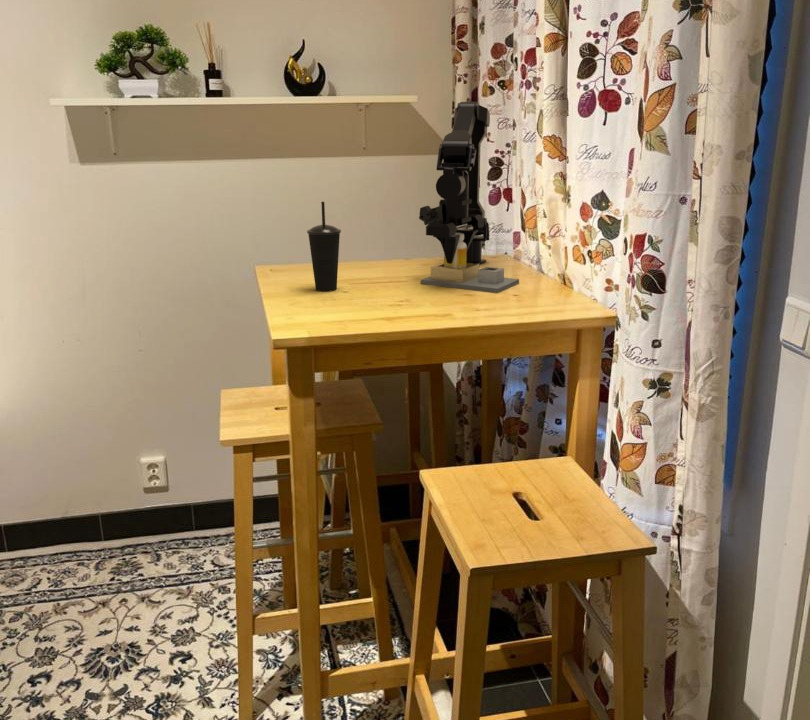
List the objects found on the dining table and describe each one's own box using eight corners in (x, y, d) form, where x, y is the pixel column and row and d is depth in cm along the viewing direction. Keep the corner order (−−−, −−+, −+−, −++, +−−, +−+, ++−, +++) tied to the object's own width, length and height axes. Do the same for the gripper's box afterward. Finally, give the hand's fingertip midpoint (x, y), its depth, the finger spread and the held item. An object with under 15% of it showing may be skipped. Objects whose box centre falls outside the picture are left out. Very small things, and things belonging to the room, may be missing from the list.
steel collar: (486, 279, 187) (486, 266, 186) (503, 281, 185) (504, 268, 184) (478, 282, 183) (478, 269, 182) (495, 284, 181) (496, 271, 180)
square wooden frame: (447, 272, 194) (448, 260, 193) (478, 276, 190) (479, 264, 189) (430, 279, 187) (430, 266, 186) (462, 282, 183) (462, 270, 182)
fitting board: (445, 274, 197) (445, 271, 197) (519, 283, 187) (519, 279, 187) (420, 283, 187) (420, 279, 187) (497, 293, 177) (497, 288, 177)
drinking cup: (322, 294, 177) (318, 204, 171) (303, 289, 183) (298, 201, 176) (349, 289, 182) (346, 201, 176) (329, 284, 187) (326, 199, 181)
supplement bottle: (443, 276, 186) (443, 235, 183) (444, 271, 191) (444, 232, 188) (466, 276, 186) (466, 235, 183) (466, 271, 191) (466, 232, 188)
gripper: (444, 189, 194) (444, 252, 199) (405, 197, 179) (406, 264, 184) (485, 191, 189) (484, 256, 194) (448, 199, 174) (448, 269, 179)
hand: (455, 261), depth 188 cm, fingers closed on supplement bottle, 5 cm apart
